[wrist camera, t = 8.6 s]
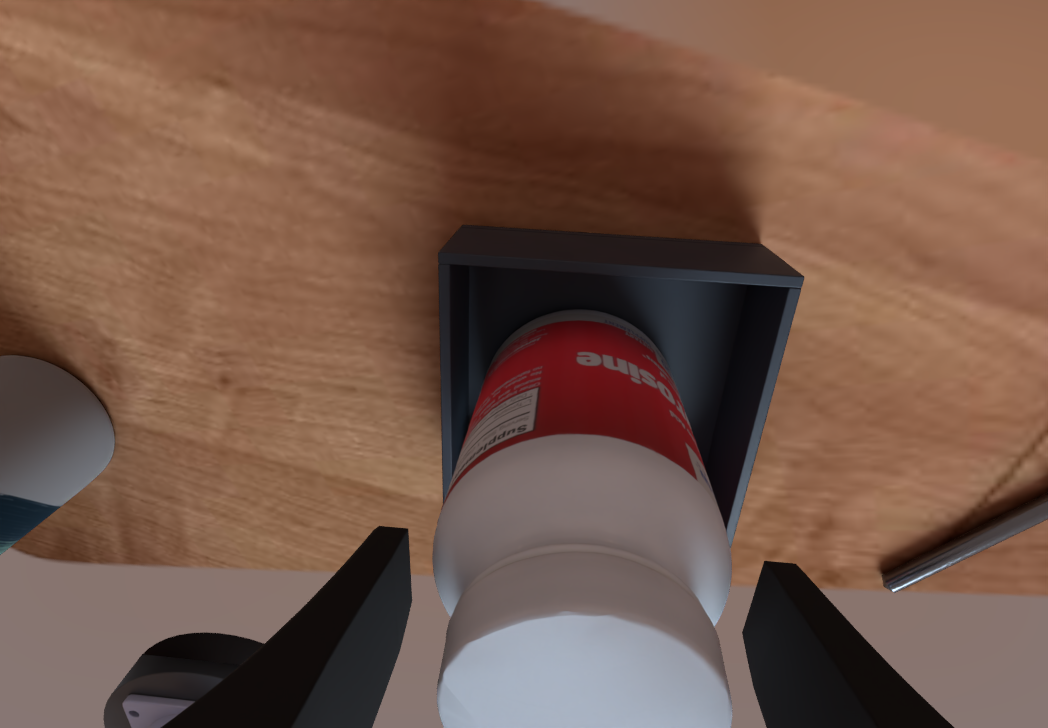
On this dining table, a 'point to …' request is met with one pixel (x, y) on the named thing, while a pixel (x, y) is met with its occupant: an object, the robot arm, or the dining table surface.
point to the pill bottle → (581, 542)
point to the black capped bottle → (45, 442)
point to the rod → (968, 544)
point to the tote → (640, 299)
